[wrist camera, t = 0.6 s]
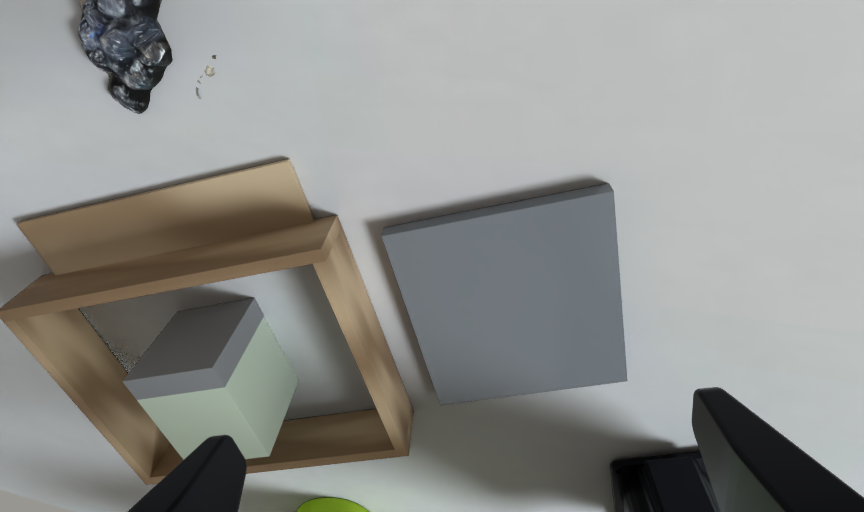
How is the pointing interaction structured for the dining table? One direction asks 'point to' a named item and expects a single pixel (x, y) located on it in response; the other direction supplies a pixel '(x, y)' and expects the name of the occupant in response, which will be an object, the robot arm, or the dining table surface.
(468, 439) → the dining table surface
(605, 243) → the coaster
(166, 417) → the box
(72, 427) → the dining table surface
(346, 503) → the soap dispenser
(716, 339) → the dining table surface
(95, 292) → the wooden frame
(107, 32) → the blueberries
